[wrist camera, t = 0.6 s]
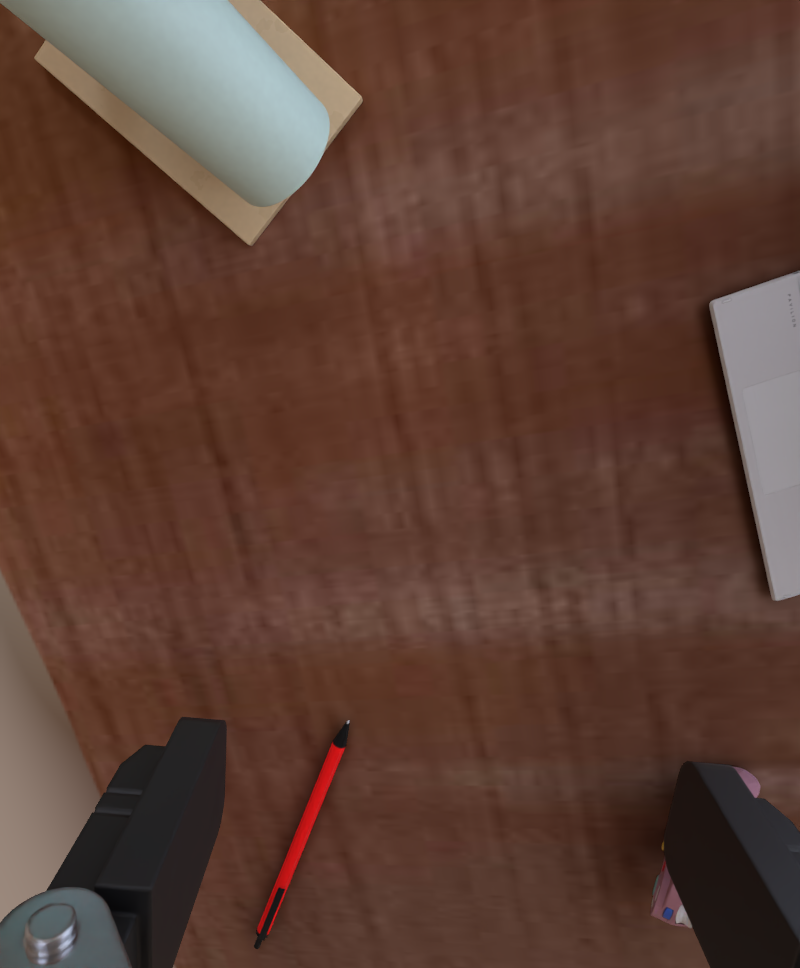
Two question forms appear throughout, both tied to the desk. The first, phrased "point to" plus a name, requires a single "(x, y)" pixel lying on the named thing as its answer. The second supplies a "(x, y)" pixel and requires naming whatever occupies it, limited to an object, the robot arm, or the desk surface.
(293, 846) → the pen
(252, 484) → the desk surface
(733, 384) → the laptop
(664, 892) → the video game controller
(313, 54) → the bottle cradle
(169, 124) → the spray bottle
